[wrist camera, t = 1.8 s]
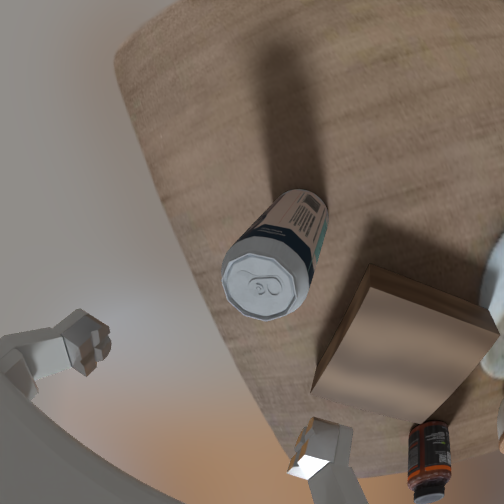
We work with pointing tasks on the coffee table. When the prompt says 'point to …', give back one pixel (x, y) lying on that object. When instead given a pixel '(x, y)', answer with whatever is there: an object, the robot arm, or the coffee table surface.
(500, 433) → the lidded jar
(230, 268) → the beer can
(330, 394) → the walnut block
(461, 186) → the coffee table surface
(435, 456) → the supplement bottle
